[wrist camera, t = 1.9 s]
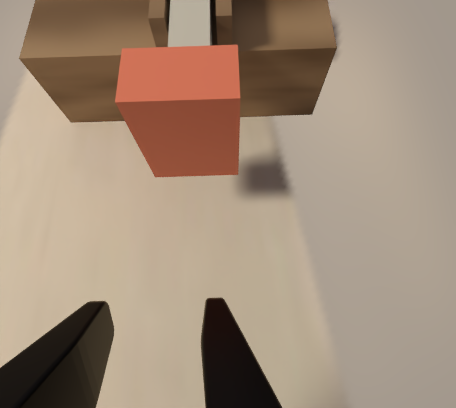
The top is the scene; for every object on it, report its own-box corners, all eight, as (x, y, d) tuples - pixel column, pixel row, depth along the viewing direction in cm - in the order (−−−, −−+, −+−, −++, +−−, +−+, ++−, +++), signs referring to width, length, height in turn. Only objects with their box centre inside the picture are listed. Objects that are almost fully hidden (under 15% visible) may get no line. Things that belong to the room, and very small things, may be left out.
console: (311, 114, 23) (350, 11, 16) (70, 122, 23) (-9, 23, 16) (300, 34, 26) (327, -86, 18) (85, 42, 26) (24, -75, 19)
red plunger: (238, 174, 17) (240, 97, 11) (155, 177, 17) (115, 102, 11) (231, 2, 21) (230, -114, 16) (166, 4, 21) (142, -111, 16)
